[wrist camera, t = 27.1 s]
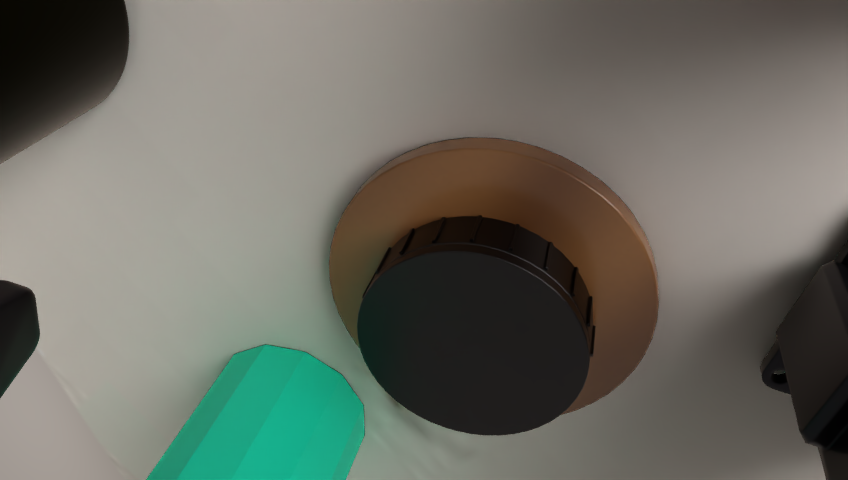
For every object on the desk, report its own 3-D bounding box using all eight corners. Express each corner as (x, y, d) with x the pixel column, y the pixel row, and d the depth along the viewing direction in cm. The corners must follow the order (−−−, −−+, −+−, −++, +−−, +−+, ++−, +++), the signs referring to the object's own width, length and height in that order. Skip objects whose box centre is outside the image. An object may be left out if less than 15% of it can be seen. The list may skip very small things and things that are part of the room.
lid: (585, 207, 19) (580, 245, 18) (602, 397, 23) (599, 442, 21) (351, 219, 22) (329, 253, 20) (399, 391, 25) (382, 431, 23)
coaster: (719, 205, 19) (722, 220, 19) (587, 442, 25) (585, 459, 24) (367, 90, 20) (357, 100, 19) (317, 345, 26) (308, 360, 25)
